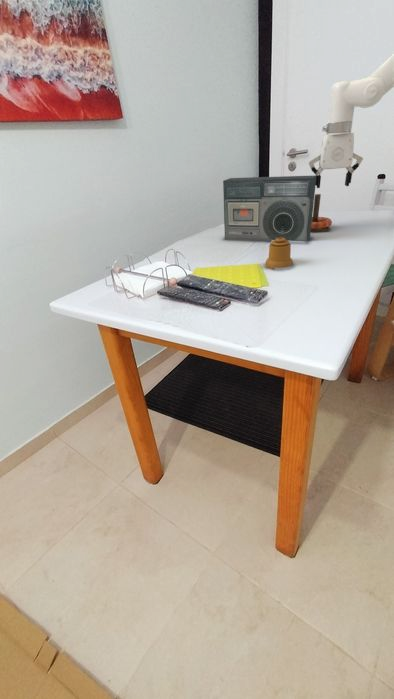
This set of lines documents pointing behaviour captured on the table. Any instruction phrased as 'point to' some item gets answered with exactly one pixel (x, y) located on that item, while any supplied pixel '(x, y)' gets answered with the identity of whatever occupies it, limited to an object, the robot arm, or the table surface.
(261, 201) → the cassette player
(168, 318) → the table surface
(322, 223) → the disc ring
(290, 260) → the ornamental finial
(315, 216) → the wooden bookend
